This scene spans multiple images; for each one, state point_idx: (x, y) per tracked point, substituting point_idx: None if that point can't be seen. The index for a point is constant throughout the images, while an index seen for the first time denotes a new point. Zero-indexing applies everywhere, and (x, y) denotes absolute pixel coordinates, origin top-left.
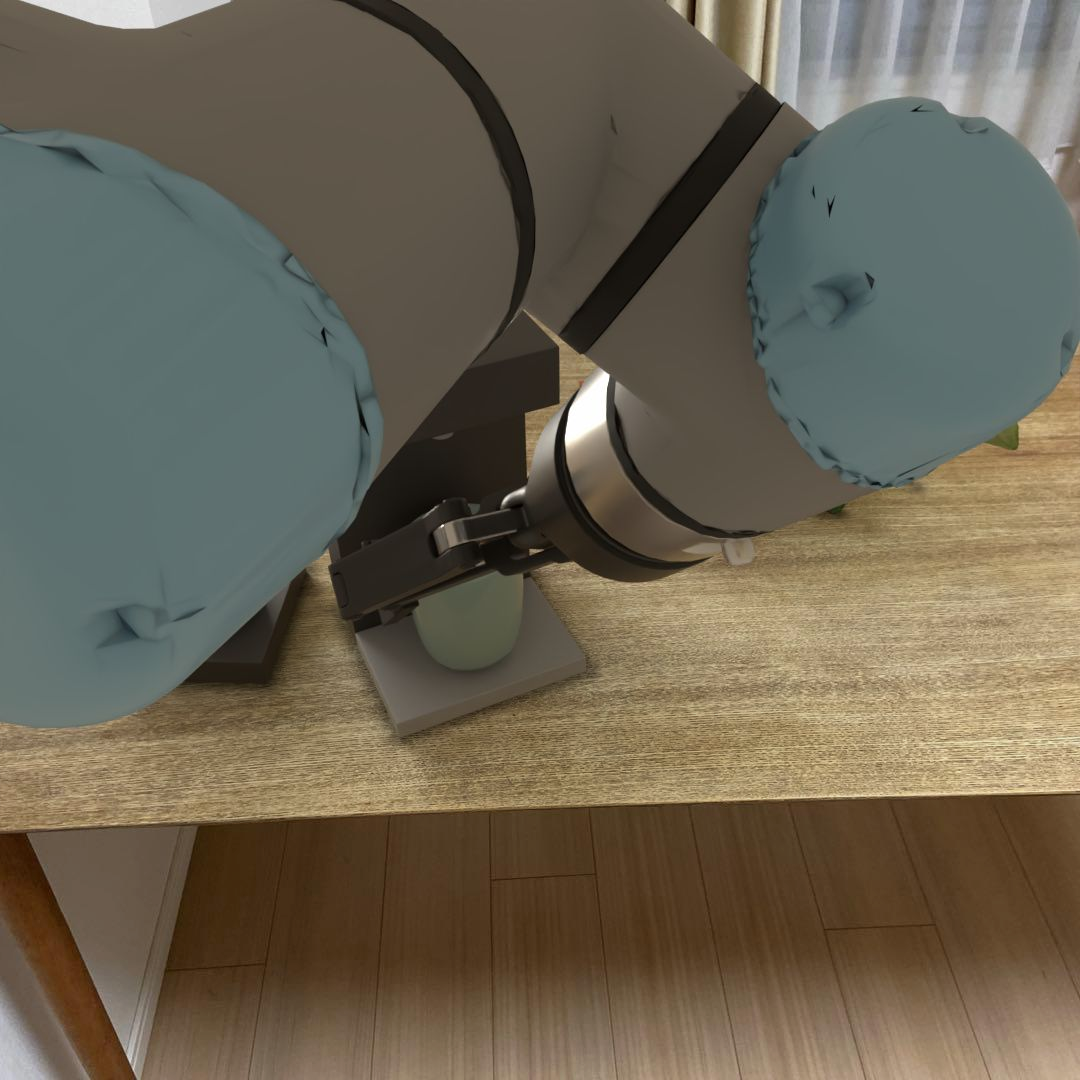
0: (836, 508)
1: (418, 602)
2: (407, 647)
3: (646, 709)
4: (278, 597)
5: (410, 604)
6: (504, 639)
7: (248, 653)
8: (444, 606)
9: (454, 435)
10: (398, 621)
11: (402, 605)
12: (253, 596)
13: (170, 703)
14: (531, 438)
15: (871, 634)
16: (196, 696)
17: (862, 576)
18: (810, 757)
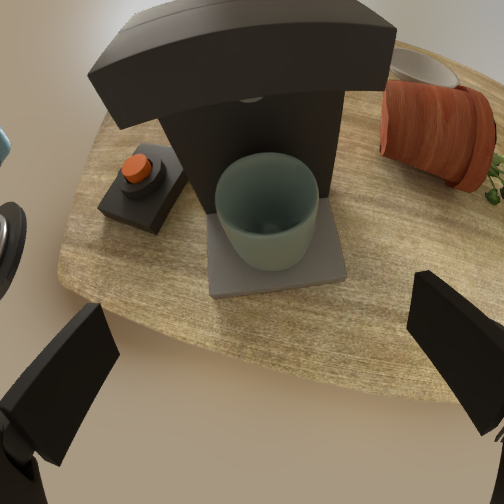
0: (494, 202)
1: (57, 464)
2: None
3: (372, 322)
4: (172, 180)
5: (49, 461)
6: (290, 265)
7: (145, 218)
8: (239, 246)
9: (276, 96)
10: (114, 362)
11: (37, 464)
12: None
13: (114, 234)
14: (347, 102)
15: (495, 295)
16: (125, 233)
17: (499, 252)
18: (443, 378)
